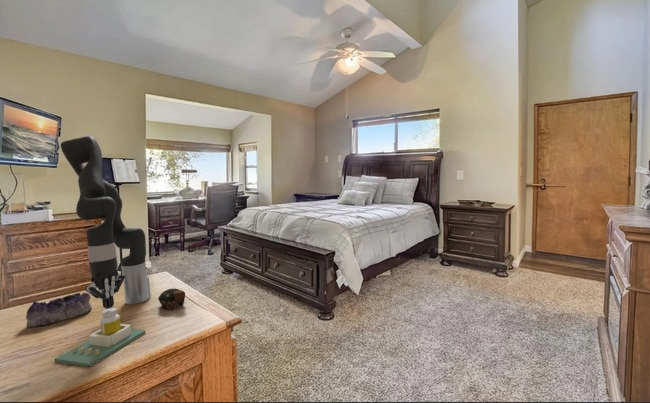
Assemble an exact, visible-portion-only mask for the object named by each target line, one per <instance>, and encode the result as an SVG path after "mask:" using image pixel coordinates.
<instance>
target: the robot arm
mask: <svg viewBox="0 0 650 403" xmlns="http://www.w3.org/2000/svg"><path fill="white" fill-rule="evenodd" d="M60 149H61V151H62V154H63V156H64V157H65V159H66V160H67V161H68V162H67V163H68V164H69V165H70V166H71V168H72V169H73V171H74V172H75V174H76V175H77V177H78V179H77V183H78V188H79V198H78V201H77V204H76V208H75V209H76V211H75V212H76V215H77V216H78V218H80V219H81V220H83V221H91V220H92V221H93V220H101V219H102V220H103V222H102V223H100V224H98V225H95V226H92V227H89V228H87V229H86V239H87V240H86V241H87V256H88V264H89V271H90V272H89V273H90V275H91V280H90V282H91V283H90V284H89V285H88V286H85V287H84V291H85V292H86V293H88V294H89V295H90V296H92V297H94V298H95V299H100V300H101V301H102V307H103V308H104V310H106V309H110V308H114V305H115V301H114V295H115V294H116V293H118V292H119V291H120V289H121V286H122V284H123V291H124V292H123V294H124V301H125V304H126V305H137V304H141V303H143V302H144V303H145V302H146V301H148V300H149V299H150V298H151V285H150V278H149V276H148V274H147V273H148V272H147V265H146V256H147V244H146V243H147V242H146V241H147V240H146V239H147V238H146V234H145V231H144V230H143V229H142V228H140V227H126V225H125V224H124V223H123V220H122V218H121V215H122V214H121V213H122V209H123V200H122V198H121V196H120V194H119V192H118V189H116V187H115V186H114V185H113V184H111V183H110V182H108V181H106V180H105V179H104V178H103V155H102V149H101V146H100V145H99V143H98V141H97V140H96V138H94V137H93V136H91V135H90V136H89V135H86V136H82V137H81V136H80V137H77V138H72V139H68V140H64V141H62V142H61V143H60ZM84 164H85V165H84ZM116 247H117V248H118V249H120V250H121V249H122V250H129V254H128V255H127V256H125V257H122V258H121V260H120V265H121V272H122V273H121V274H120V273H119V271H118V269H119V267H118V258H117V250H116V249H117V248H116Z"/></svg>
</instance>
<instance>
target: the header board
mask: <svg viewBox="0 0 650 403" xmlns="http://www.w3.org/2000/svg"><path fill="white" fill-rule="evenodd" d="M120 325H121V330H119V331H117V332H116V333H114V334H112V335H110V336H105V335H102V331H101V328H100V329H98V330H96V331H94V332H92V333H91V334H90V335H89V336H88V339H89V340H87V341H85V342H83V343H82V344H79V345H78V346H77V345H75V346H73V348H72V349H70V350H69V351H66V352H64V353H63V354H60V355H58V356H56V357H55V358H54V362H55V363H63V364H67V363H68V365H73V364H75V365H74V366H79V365H84V366H83V367H86V366H91V365H92V366H94V365H95V364H94V363H96V362H97V363H98V361H99V360H101V359H102V360H103V358H104V359H106V358H108V357H109V356H111V354H113V353H116V352H117V351H119V350H120V349H122V348H124V347H125V346H127V345H129V344H130V343H131V342H134V341H135V340H136V339H138V338H140V337H142V336H143V335H144V334H146V330H144V329H136V328H132V324H128V323H126V324H125V323H120ZM102 360H101V361H102ZM99 362H100V361H99ZM97 363H96V364H97ZM93 364H94V365H93ZM92 366H91V367H92Z"/></svg>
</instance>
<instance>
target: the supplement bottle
mask: <svg viewBox="0 0 650 403" xmlns="http://www.w3.org/2000/svg"><path fill="white" fill-rule="evenodd" d="M117 312H118V311H117V308H116V307H112V308H109V309H104V310H103V311H101V314H102V318H101V319H100V329H101V331H102V335H105V336H110V335H112V334H114V333H116V332H117V331H119V330H121V325H120V324H121V318H120V315H119V314H118V313H117Z"/></svg>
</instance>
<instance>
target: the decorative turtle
mask: <svg viewBox="0 0 650 403" xmlns="http://www.w3.org/2000/svg"><path fill="white" fill-rule="evenodd" d="M157 299H158V301H159V304H160V305H161V307H162V308H163V309H164V310H166V309H169V310H170V311H174V310H175V309H176V307H177V306H181V307H182V306H183V305H184V304H185V299H186V292H185V291H184V290H182V289H180V288H169V289H166V290H164V291H162V292H161V293H160V294H159V296H158V298H157Z"/></svg>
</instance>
